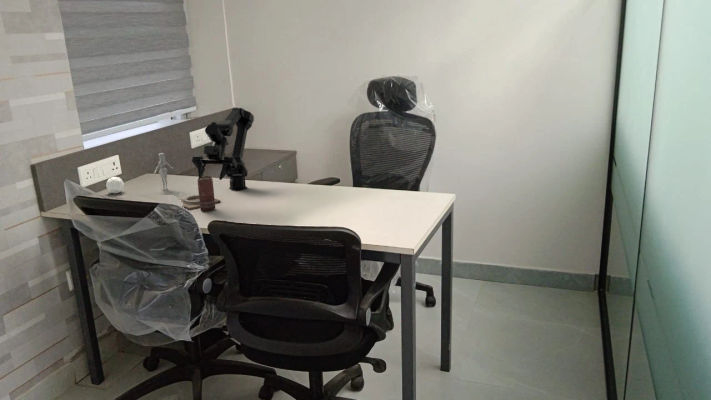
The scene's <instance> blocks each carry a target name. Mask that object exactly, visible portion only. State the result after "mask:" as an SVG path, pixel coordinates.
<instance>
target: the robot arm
mask: <svg viewBox="0 0 711 400" xmlns="http://www.w3.org/2000/svg"><path fill="white" fill-rule="evenodd" d="M254 121H255V117H254V115H253V114H252V113H251V112H250V111H247V110H245V109H244V108H242V107H234V108H232V109H231V111H230V112H229V114H228V115H227V116H226V117H225V119H224V120H221V121H219V122H217V121H212V122H211V123H210V124H208V125H207V126H206V127H205V128H204V132H205V134H206V135H207V137H208V139H209V140H210V141H211V142H212V145H204V146H203V154H205V156H206V158H204V156H203V155H193V156H192V158H191V162H192V164H193V165H194V166H195V168H197V173H198V174H197V175H198V178H200V177H204V176H203V175H204V173H205V170H206V168H205V167H206V165H222V166H221V171H220V174H219V179H218V180H220V181H222V180H223V179H224V177H225V176H226V177H227V178H229V189H230V190H232V191H235V192H236V191H242V190H245V189H248V186H247V185H246V184H247V183H246V177H248V169H247V167H246V166H245V161H244V159H243V155H244V150H245V144H246V140H247V134H248V131H249V130H250V129H251V128H252V126H253V123H254ZM234 126H236V128H237V129H236V133H235V138H234V139H235V140H234V144H233V150H232V154H231V155H230V156H226V152H225V151H226V149H227V146H229V141H228V139H227V137H231V136H232V135H233V133H234Z"/></svg>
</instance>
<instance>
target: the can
mask: <svg viewBox="0 0 711 400" xmlns="http://www.w3.org/2000/svg"><path fill="white" fill-rule="evenodd" d="M197 190H198V195H199V201H200V207H199V209H200V211H201V212H203V213H209V212H214V211H215V209H216V203H215V199H216V198H215V190H214V180H213V178H212V176H202V177H200V178H199V177H198V178H197ZM214 198H215V199H214Z"/></svg>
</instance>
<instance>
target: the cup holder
mask: <svg viewBox="0 0 711 400" xmlns="http://www.w3.org/2000/svg"><path fill="white" fill-rule="evenodd" d="M214 199H215V204H220V203H221V199H217V198H215V197H214ZM179 200H181V202H182V203H183V206H184V207H185V208H184V207H183V208H184V209H186V208H187V209H186V210H189V211H190V210H194V209H200V201H199V194H192V195H188V196H185V197H184V198H180V199H179Z"/></svg>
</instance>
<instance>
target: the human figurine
mask: <svg viewBox="0 0 711 400" xmlns="http://www.w3.org/2000/svg"><path fill="white" fill-rule="evenodd" d="M157 156H158V158H159V161H158V164H157V166H156V167H155V171H153V175H156V173H157V170H158V169H159V172H158V175H159V176H160V178H161V182H162V191H163V192H165V191H168V189H169V188H168V180H167V178H168V168H166V167H165V165H167V166H169V167H170V168H171V169H174V167H173V166H171V164H169V163H168V162H167V160H166V154H165V152H160V153H158V155H157Z"/></svg>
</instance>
